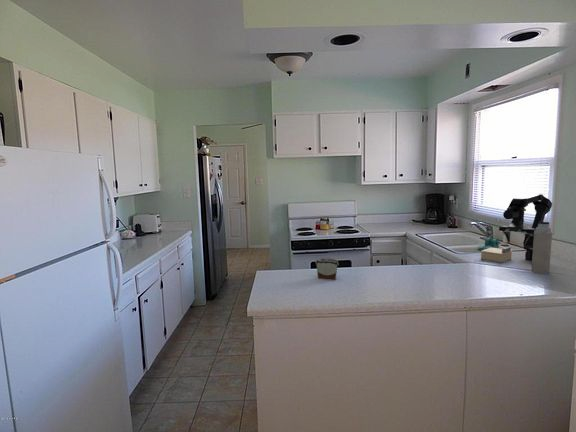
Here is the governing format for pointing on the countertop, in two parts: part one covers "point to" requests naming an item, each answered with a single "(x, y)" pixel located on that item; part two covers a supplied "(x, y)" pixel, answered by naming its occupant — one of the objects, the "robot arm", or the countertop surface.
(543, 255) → the thermos bottle
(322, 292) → the countertop surface
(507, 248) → the carton lid
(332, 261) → the food container
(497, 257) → the carton
